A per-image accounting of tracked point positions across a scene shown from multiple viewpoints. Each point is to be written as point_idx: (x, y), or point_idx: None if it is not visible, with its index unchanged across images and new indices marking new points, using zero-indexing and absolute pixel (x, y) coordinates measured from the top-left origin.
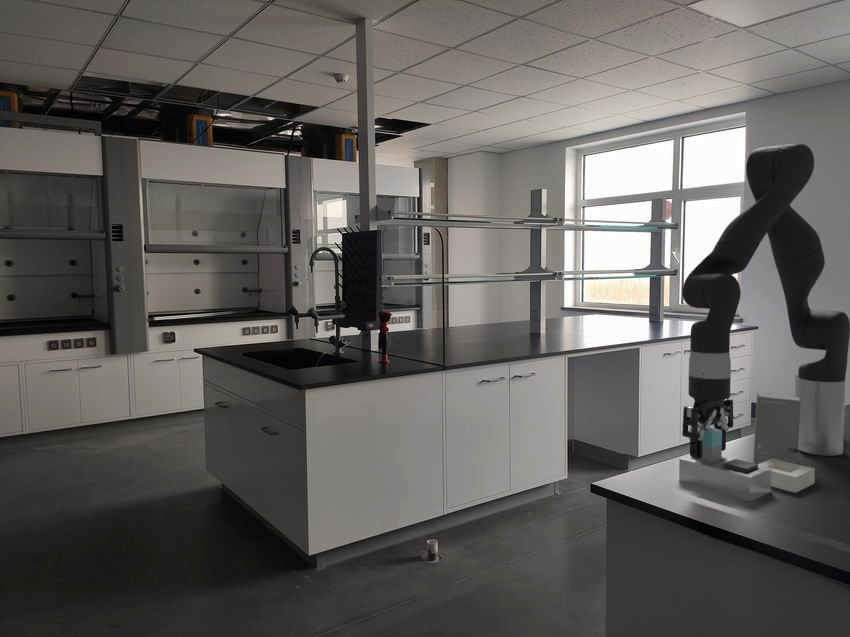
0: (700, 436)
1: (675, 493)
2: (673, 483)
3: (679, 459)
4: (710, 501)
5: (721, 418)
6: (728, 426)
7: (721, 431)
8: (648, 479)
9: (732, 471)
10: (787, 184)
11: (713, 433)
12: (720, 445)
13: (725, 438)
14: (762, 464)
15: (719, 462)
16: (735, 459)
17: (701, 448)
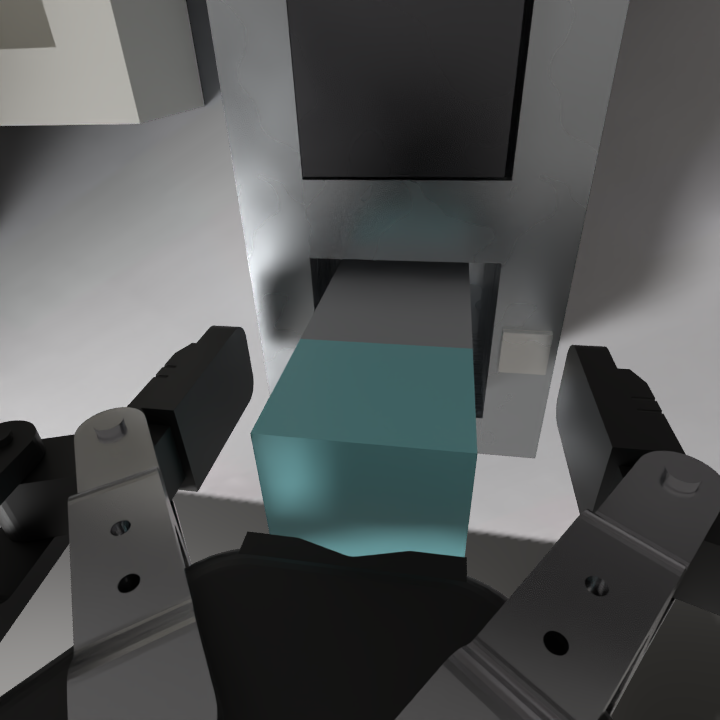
0: (699, 490)
1: (657, 316)
2: None
3: (534, 454)
4: (663, 122)
5: (184, 570)
6: (43, 449)
7: (268, 424)
8: (542, 471)
9: (582, 44)
10: None
11: (449, 445)
12: (322, 339)
13: (176, 376)
14: (41, 98)
15: (409, 256)
16: (321, 170)
17: (612, 392)
